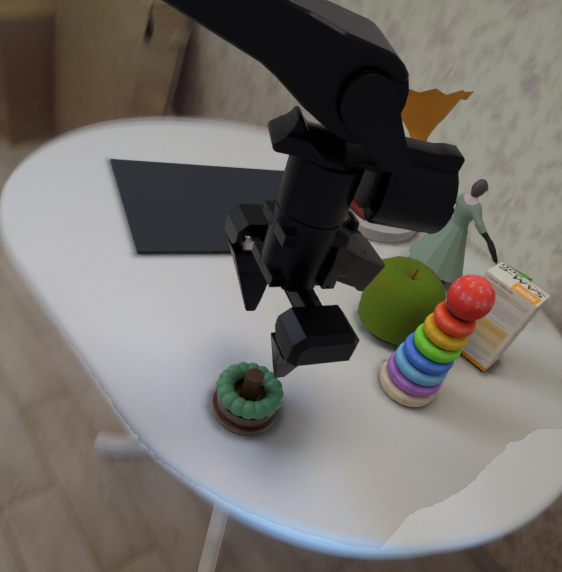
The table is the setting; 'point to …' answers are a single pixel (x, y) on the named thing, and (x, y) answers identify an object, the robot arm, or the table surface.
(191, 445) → the table surface
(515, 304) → the supplement box
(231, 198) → the mat
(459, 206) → the character figurine
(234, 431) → the stand
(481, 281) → the stacking toy
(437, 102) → the gramophone
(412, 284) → the apple
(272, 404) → the ring
